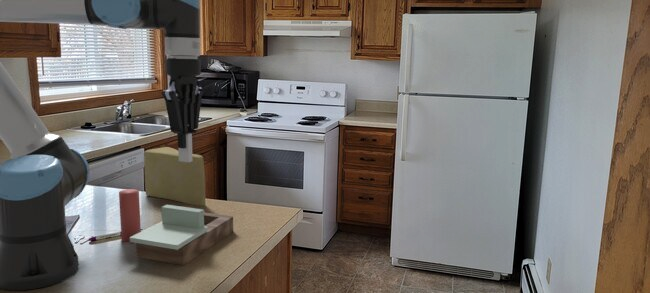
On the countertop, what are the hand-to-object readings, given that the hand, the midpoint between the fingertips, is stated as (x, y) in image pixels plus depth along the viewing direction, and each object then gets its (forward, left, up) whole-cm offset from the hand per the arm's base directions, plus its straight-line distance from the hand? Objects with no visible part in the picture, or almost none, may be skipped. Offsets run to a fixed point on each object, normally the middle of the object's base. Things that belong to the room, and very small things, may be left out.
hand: (185, 161), depth 114 cm
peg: (-3, +14, -20) cm, 25 cm away
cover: (-7, 0, -16) cm, 17 cm away
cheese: (+30, +23, -20) cm, 43 cm away
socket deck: (0, 0, -20) cm, 20 cm away
